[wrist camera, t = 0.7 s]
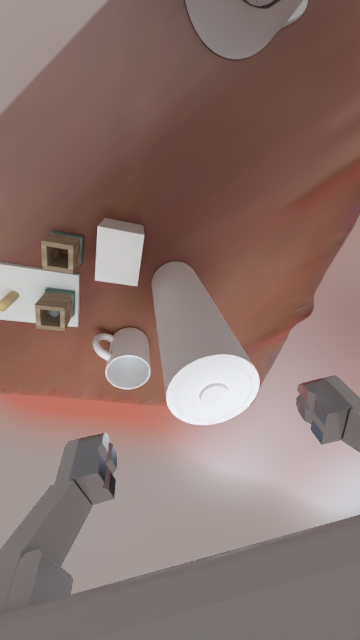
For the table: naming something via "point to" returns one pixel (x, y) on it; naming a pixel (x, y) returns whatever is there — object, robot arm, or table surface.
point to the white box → (118, 252)
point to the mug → (125, 357)
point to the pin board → (32, 291)
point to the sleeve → (58, 261)
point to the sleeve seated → (55, 309)
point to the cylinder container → (199, 351)
